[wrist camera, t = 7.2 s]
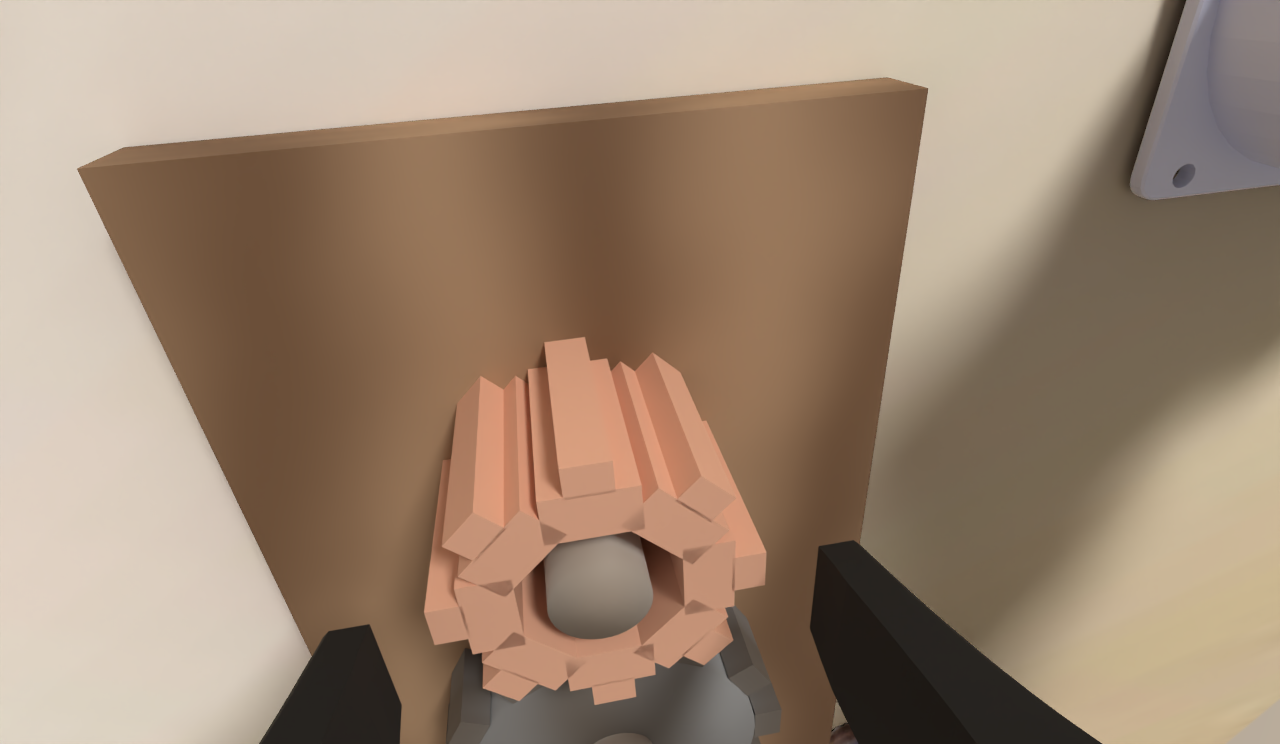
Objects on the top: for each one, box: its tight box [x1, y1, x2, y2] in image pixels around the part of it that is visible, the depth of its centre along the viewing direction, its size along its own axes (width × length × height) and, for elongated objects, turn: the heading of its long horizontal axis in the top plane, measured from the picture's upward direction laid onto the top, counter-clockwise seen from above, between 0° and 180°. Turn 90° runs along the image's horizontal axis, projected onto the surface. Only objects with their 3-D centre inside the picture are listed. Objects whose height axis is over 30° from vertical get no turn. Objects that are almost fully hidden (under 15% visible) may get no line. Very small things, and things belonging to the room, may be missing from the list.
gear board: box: [77, 78, 928, 744], centre depth 16 cm, size 14×22×6 cm, turn 4°
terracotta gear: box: [424, 337, 767, 705], centre depth 13 cm, size 6×6×4 cm
